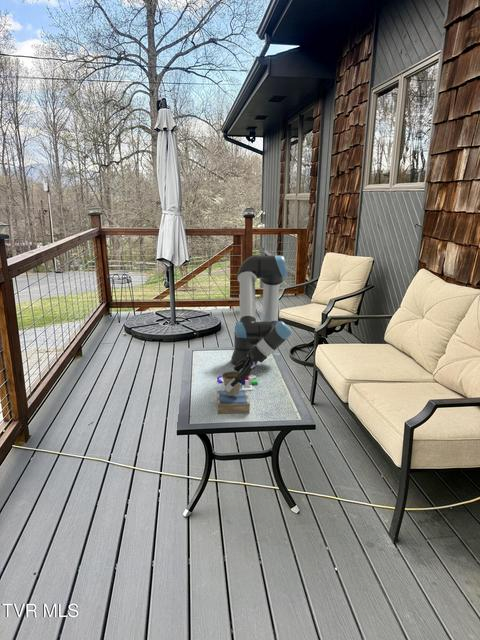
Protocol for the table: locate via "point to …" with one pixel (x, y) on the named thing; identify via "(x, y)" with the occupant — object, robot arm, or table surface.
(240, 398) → the plinth
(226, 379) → the flower pot
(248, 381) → the building block set
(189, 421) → the table surface
